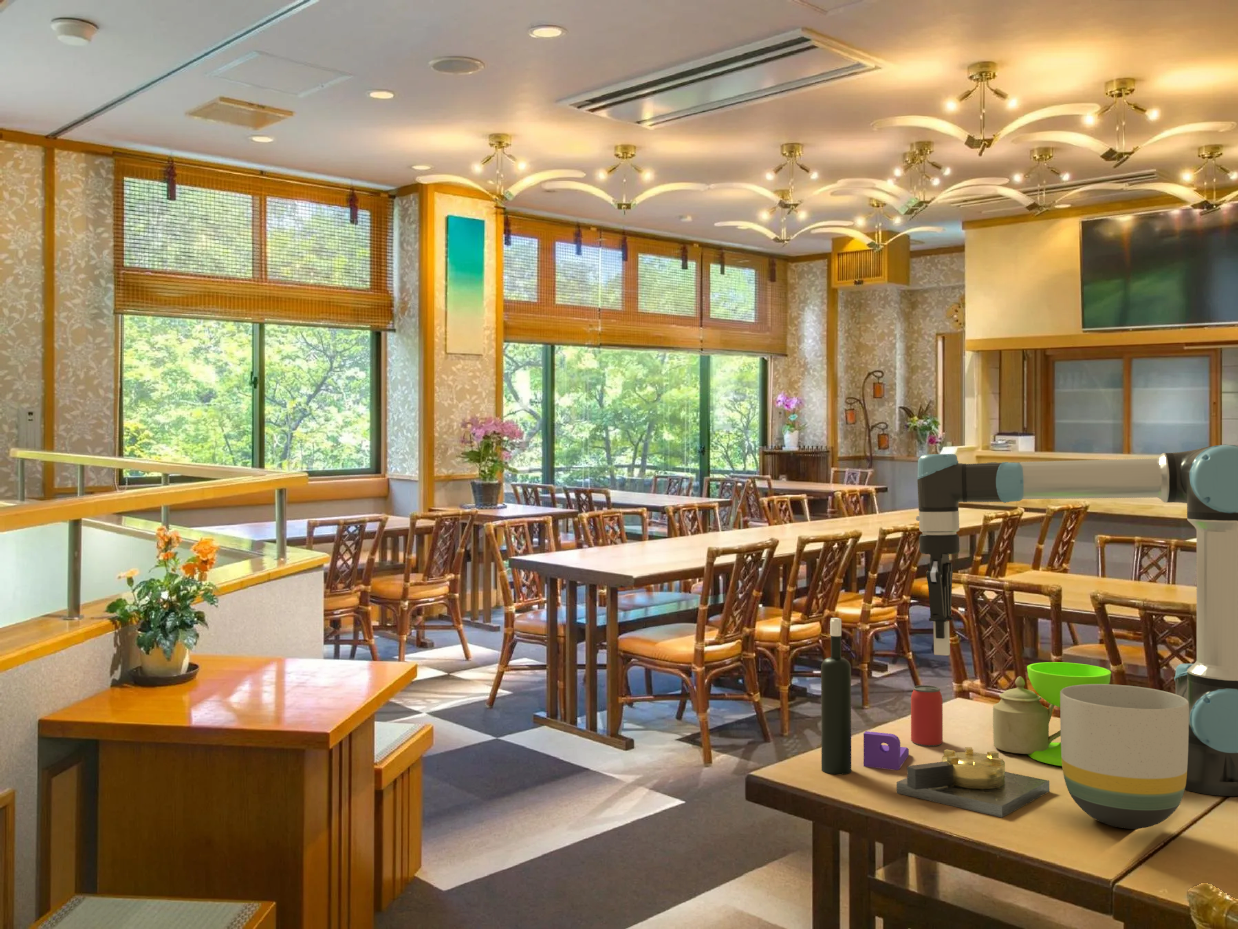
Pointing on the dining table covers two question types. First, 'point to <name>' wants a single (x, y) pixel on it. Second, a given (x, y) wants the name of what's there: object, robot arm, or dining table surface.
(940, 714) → the beer can
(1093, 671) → the wineglass
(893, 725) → the dining table surface
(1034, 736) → the sugar bowl
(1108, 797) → the planter
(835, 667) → the wine bottle
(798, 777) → the dining table surface
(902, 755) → the bracket
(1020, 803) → the plate
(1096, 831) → the dining table surface
